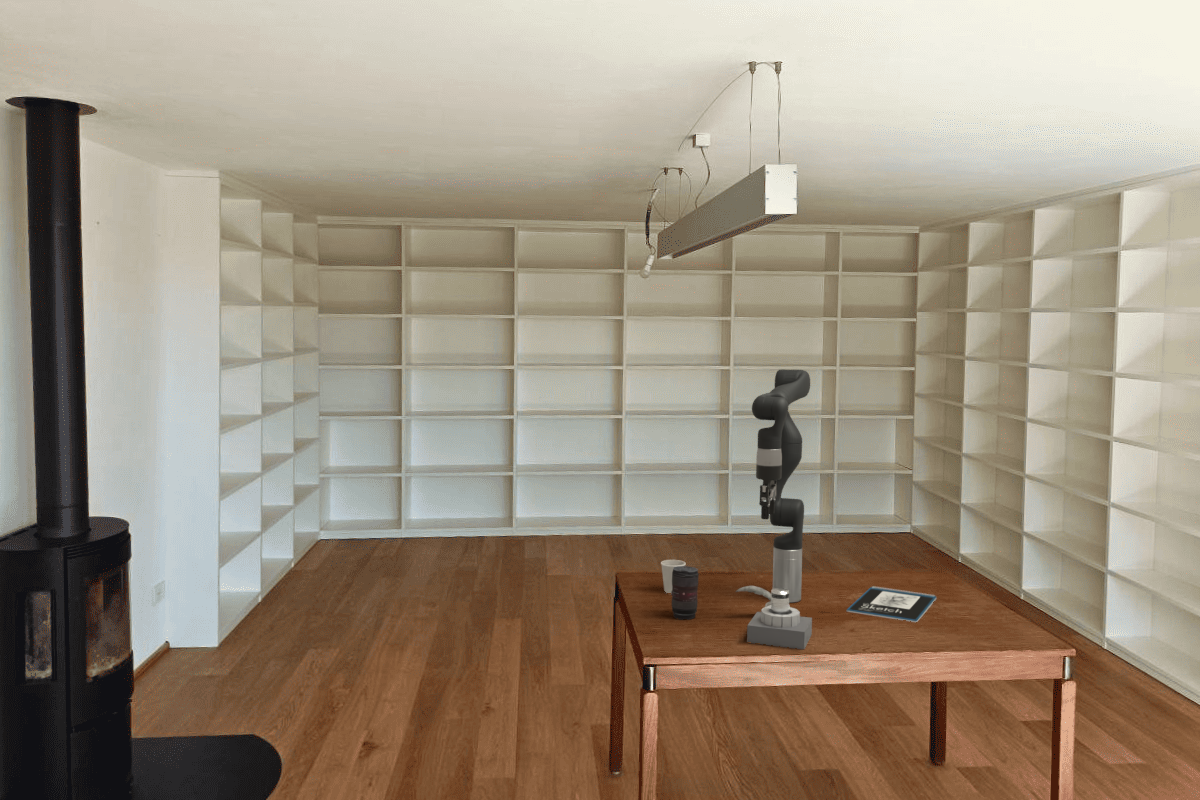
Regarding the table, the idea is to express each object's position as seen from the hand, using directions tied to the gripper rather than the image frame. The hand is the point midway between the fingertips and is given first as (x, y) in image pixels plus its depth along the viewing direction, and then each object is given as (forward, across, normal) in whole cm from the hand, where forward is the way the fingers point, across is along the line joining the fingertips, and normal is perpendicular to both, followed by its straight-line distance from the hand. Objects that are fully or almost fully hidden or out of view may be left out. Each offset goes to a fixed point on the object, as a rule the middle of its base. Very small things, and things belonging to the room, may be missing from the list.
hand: (767, 516), depth 293 cm
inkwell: (+32, +3, +1) cm, 33 cm away
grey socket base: (+32, -15, -7) cm, 36 cm away
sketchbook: (+33, +32, -35) cm, 58 cm away
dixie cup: (+32, +20, +35) cm, 52 cm away
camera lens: (+32, -5, +24) cm, 41 cm away
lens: (+27, -15, -7) cm, 32 cm away
